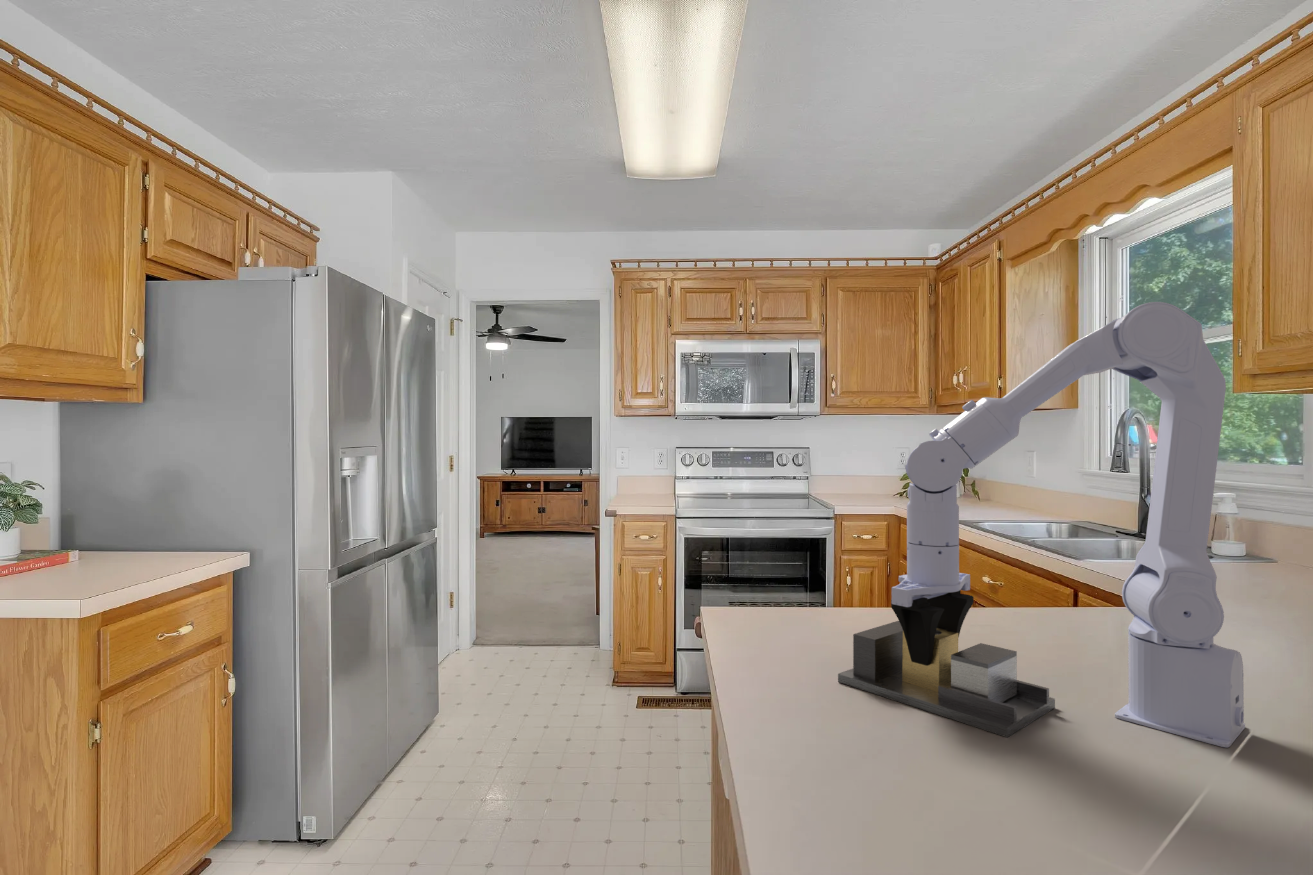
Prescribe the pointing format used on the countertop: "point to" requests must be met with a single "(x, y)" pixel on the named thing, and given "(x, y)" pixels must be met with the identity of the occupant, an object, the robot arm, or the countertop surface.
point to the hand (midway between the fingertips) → (932, 658)
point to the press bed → (883, 676)
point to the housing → (932, 662)
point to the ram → (985, 671)
